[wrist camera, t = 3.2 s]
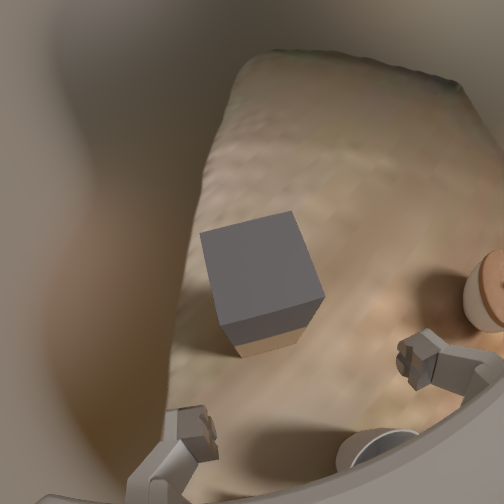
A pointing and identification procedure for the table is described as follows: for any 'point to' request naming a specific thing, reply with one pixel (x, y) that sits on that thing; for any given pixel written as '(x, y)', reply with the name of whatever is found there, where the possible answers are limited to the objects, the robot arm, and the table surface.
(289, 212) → the gray rectangular block
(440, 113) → the table surface
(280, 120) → the table surface
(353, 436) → the cup
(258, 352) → the kraft box
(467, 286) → the lidded jar
